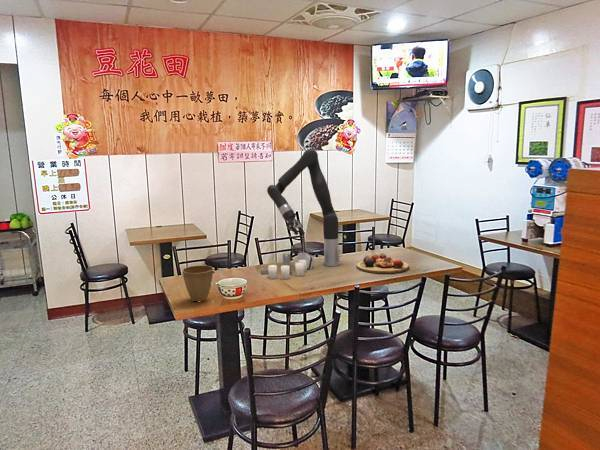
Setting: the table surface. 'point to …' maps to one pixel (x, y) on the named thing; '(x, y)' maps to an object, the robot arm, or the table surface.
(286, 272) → the spacer
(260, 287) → the table surface
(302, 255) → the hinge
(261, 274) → the mat
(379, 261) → the wooden plate with food
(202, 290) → the plant pot
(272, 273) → the cylinder
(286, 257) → the bushing
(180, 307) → the table surface
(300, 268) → the spacer
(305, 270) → the spacer
